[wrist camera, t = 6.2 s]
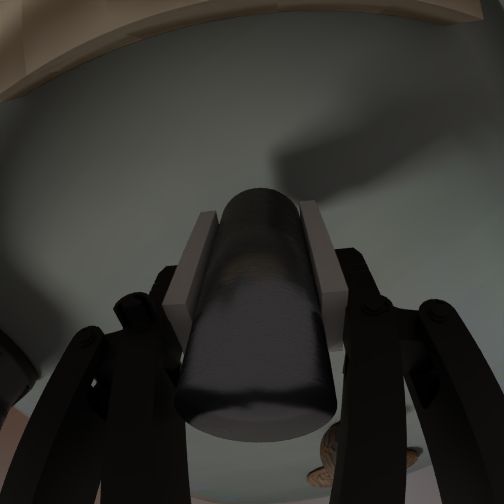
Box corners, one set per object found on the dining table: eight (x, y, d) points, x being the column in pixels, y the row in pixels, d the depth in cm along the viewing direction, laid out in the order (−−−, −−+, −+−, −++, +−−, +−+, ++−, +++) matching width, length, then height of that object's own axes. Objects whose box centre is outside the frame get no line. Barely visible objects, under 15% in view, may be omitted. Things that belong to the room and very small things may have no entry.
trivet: (411, 464, 52) (412, 470, 50) (317, 485, 58) (318, 491, 56) (422, 436, 40) (424, 444, 38) (294, 465, 45) (294, 473, 44)
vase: (377, 418, 33) (386, 474, 25) (348, 437, 36) (353, 487, 29) (337, 414, 32) (343, 477, 24) (309, 434, 35) (311, 489, 28)
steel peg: (302, 255, 16) (329, 437, 7) (228, 261, 16) (198, 440, 8) (298, 184, 14) (346, 362, 5) (214, 193, 14) (148, 370, 6)
